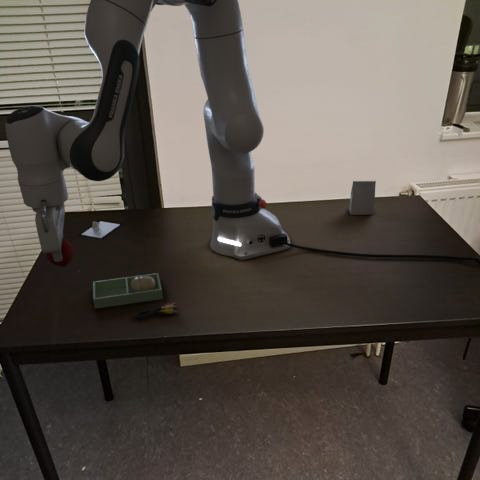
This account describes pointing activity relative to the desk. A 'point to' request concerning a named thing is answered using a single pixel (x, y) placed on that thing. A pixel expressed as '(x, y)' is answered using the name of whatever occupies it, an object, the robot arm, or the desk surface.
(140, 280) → the cream rounded lump
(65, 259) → the onion
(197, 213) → the desk surface
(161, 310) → the composite cable
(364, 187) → the grey rectangular block
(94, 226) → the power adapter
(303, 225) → the desk surface
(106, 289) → the holder
